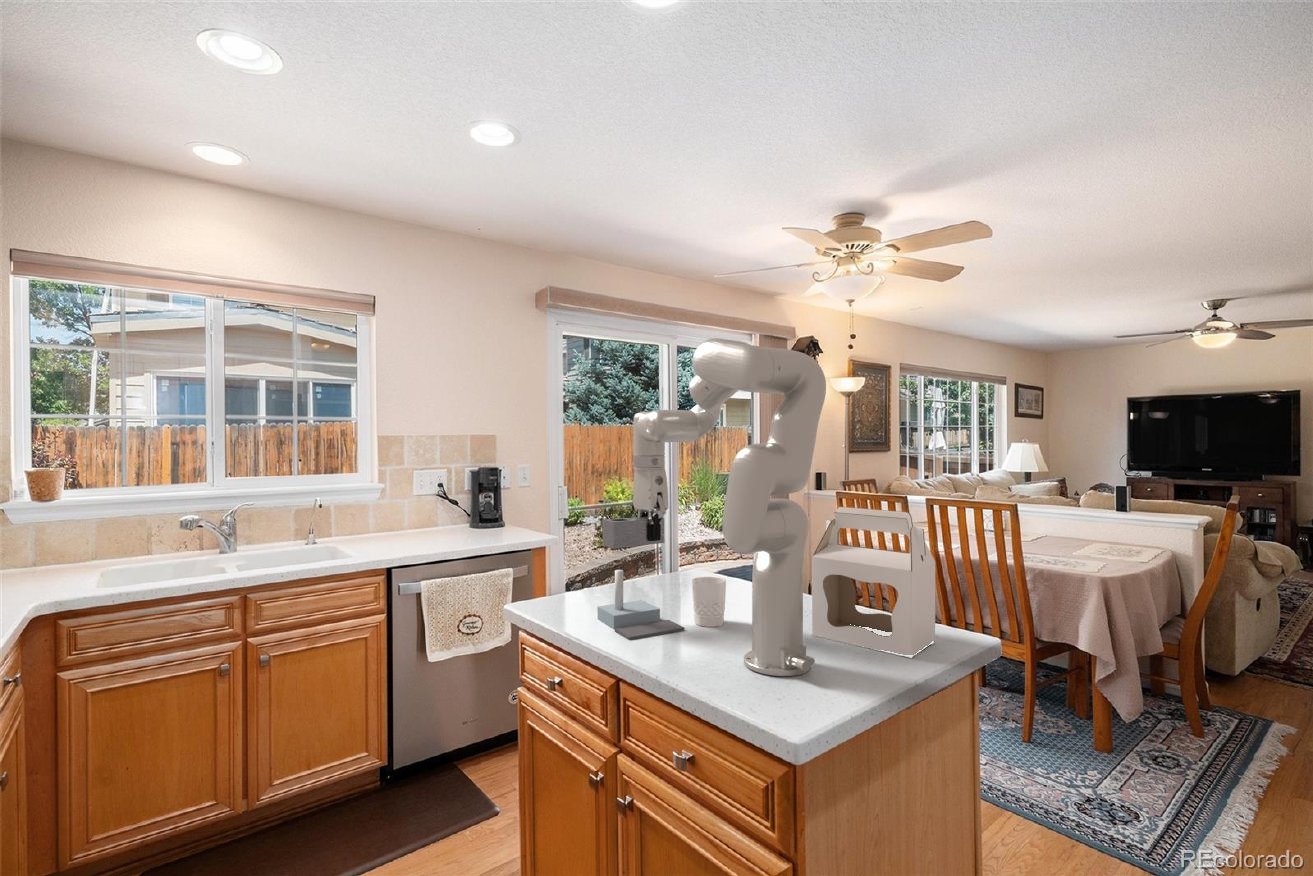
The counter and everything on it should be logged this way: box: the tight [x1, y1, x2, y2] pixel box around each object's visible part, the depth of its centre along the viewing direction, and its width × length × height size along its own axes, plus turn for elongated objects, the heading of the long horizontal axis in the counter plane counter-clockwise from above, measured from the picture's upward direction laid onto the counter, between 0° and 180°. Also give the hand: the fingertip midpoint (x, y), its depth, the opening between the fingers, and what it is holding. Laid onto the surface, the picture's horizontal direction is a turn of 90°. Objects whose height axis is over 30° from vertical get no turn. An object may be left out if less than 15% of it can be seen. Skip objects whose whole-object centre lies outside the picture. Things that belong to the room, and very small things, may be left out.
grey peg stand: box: [597, 569, 661, 630], centre depth 150 cm, size 12×9×12 cm
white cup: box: [691, 576, 727, 628], centre depth 148 cm, size 8×8×10 cm
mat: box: [614, 619, 686, 641], centre depth 142 cm, size 7×14×1 cm, turn 119°
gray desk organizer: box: [601, 515, 665, 549], centre depth 151 cm, size 14×6×6 cm, turn 119°
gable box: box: [811, 506, 936, 655], centre depth 136 cm, size 22×13×28 cm, turn 47°
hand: (649, 538), depth 153 cm, fingers closed on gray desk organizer, 4 cm apart
